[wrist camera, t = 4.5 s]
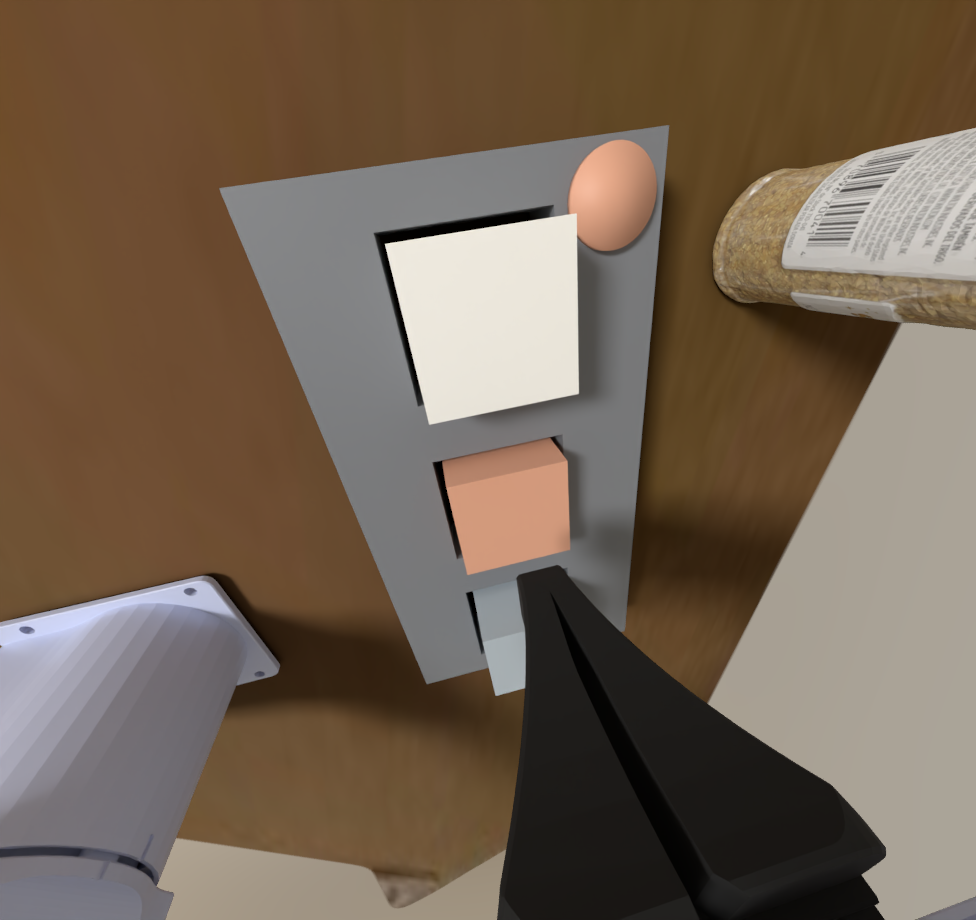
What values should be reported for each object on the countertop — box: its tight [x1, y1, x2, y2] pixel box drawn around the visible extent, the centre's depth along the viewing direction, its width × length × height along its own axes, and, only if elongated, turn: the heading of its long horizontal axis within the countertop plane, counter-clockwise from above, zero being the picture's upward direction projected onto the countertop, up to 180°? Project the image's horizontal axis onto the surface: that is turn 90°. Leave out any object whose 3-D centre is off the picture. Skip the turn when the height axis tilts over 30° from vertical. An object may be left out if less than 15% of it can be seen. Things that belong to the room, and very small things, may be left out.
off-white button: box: [385, 213, 579, 425], centre depth 11 cm, size 4×4×3 cm
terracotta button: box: [442, 437, 570, 575], centre depth 16 cm, size 4×4×3 cm
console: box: [219, 125, 669, 684], centre depth 16 cm, size 12×23×3 cm, turn 8°
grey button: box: [473, 580, 526, 696], centre depth 19 cm, size 4×4×3 cm
